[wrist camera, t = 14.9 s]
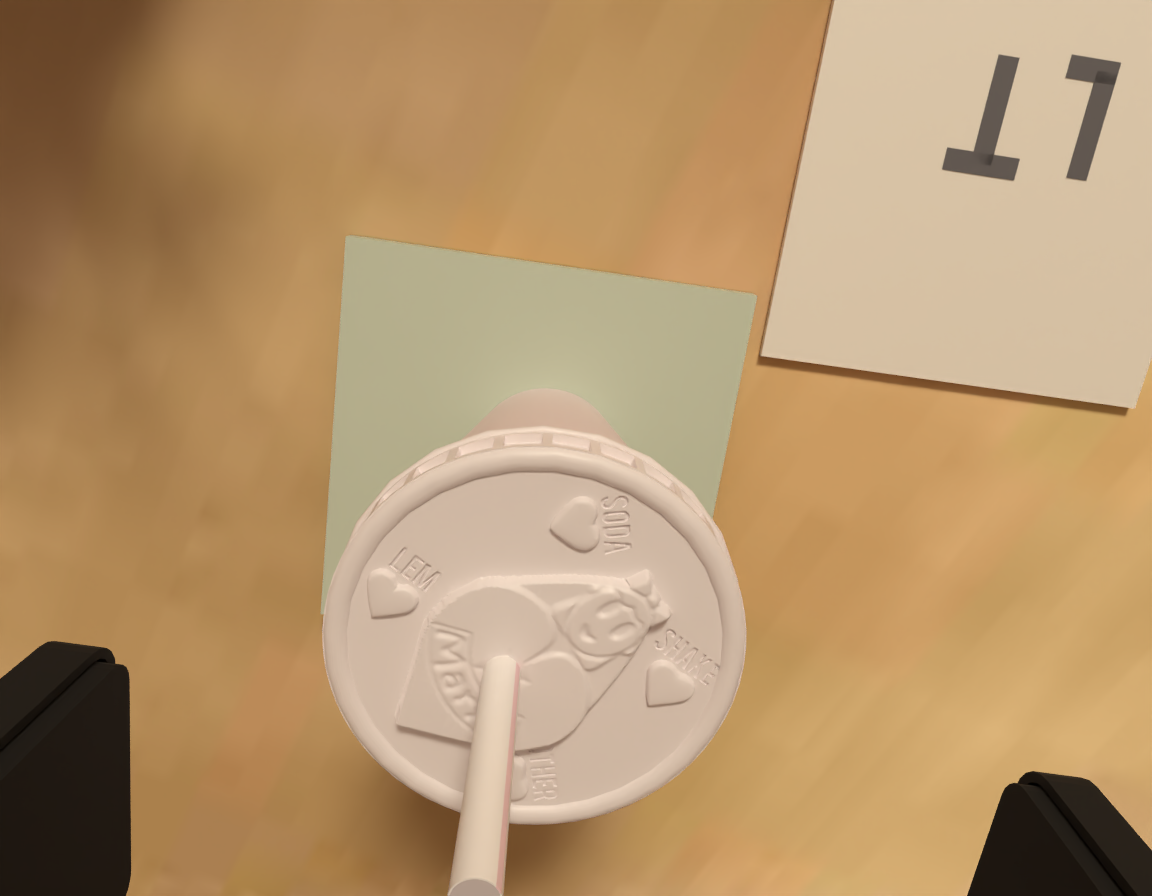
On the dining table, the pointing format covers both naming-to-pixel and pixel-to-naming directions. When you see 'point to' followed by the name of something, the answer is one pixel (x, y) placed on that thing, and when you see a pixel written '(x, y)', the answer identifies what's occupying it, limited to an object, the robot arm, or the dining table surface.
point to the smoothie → (533, 627)
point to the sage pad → (521, 362)
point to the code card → (976, 198)
